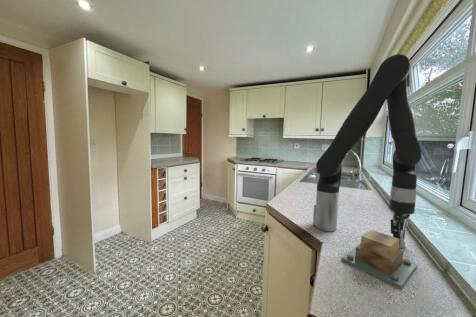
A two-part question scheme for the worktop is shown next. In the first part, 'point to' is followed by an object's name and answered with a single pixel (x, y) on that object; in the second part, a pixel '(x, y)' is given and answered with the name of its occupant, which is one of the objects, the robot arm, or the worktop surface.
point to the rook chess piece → (402, 243)
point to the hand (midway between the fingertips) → (398, 242)
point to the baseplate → (394, 279)
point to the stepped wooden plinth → (380, 251)
